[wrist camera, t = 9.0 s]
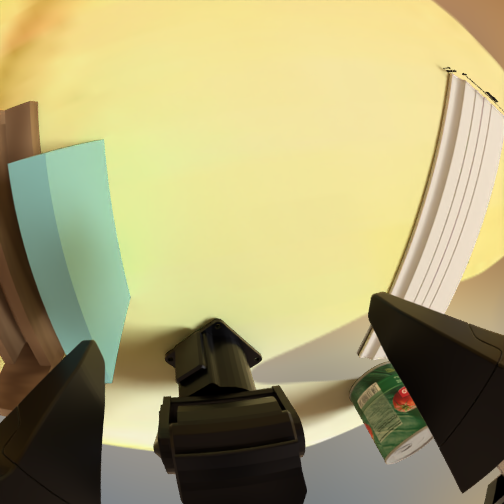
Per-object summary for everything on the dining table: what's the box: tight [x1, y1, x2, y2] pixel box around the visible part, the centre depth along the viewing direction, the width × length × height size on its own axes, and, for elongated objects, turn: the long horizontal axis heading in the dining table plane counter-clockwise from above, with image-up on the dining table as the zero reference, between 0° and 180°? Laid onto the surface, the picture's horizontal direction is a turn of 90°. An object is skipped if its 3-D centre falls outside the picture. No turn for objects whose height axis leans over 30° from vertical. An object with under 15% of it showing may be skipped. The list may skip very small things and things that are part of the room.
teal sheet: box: [8, 139, 130, 383], centre depth 15 cm, size 2×12×9 cm, turn 2°
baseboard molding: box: [357, 67, 504, 360], centre depth 25 cm, size 31×3×12 cm
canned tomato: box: [349, 361, 433, 464], centre depth 29 cm, size 8×8×11 cm
